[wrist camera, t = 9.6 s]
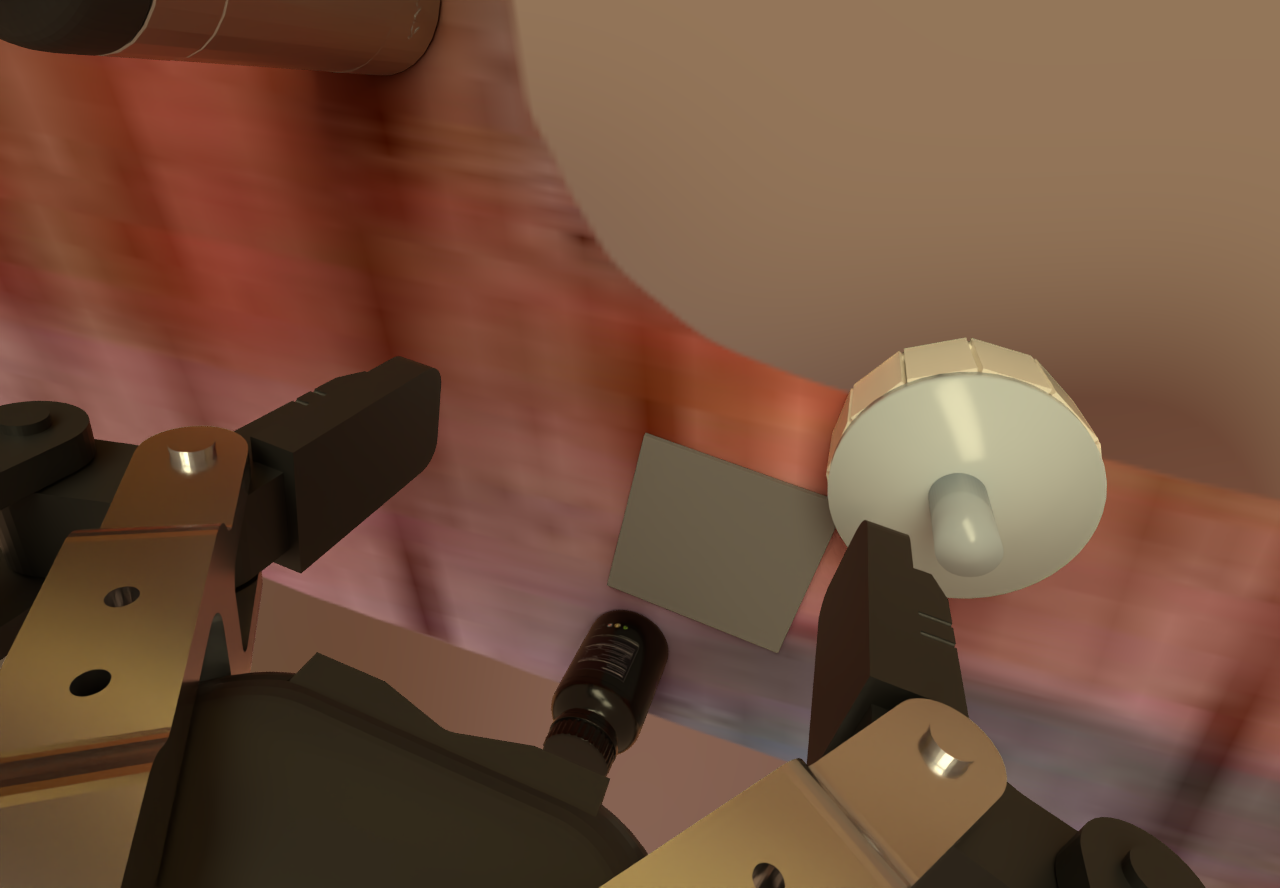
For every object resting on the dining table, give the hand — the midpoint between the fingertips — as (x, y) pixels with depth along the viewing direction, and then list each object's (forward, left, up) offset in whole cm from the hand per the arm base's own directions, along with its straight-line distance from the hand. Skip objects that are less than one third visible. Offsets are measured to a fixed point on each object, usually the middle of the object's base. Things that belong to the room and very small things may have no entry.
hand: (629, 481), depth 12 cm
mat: (+1, -22, -29) cm, 37 cm away
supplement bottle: (-3, -34, -29) cm, 45 cm away
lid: (+12, -9, -24) cm, 29 cm away
